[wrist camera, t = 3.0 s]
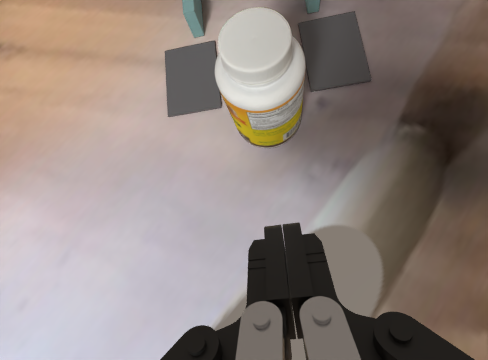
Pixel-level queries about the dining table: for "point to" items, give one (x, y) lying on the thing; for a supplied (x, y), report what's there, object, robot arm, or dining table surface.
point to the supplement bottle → (261, 76)
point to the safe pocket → (195, 19)
